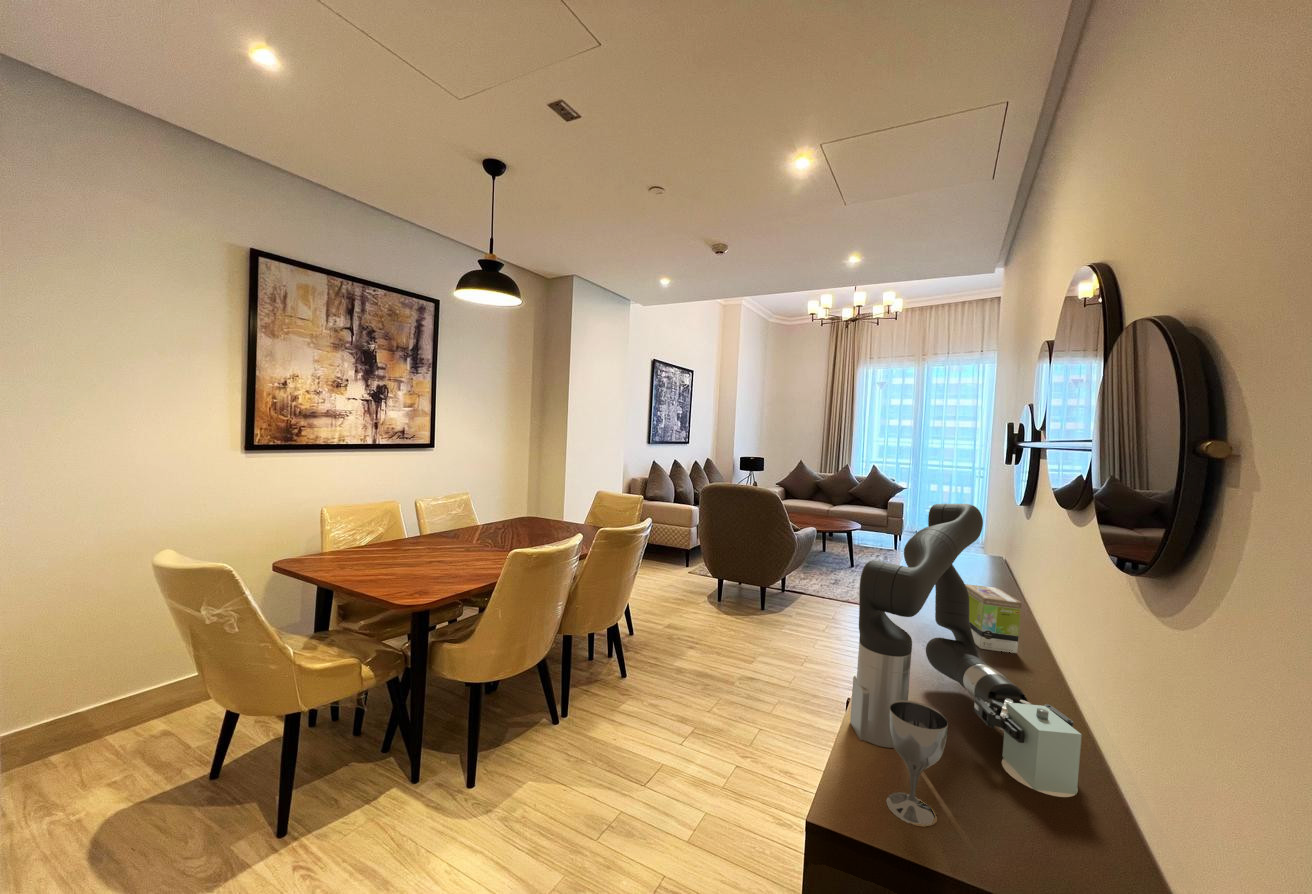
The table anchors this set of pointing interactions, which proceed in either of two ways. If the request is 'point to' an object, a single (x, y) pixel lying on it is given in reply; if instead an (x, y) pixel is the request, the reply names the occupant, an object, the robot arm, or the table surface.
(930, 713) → the wine glass
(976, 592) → the tea box
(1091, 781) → the table surface
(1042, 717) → the cloche
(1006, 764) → the plate
